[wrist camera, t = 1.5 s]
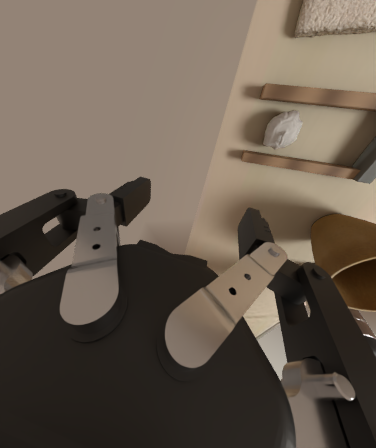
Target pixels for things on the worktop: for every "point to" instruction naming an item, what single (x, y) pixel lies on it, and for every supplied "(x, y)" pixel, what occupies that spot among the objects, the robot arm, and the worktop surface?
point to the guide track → (372, 156)
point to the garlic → (283, 130)
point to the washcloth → (336, 17)
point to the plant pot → (348, 257)
